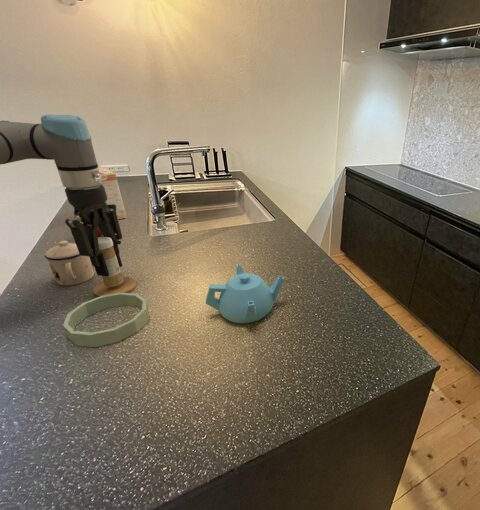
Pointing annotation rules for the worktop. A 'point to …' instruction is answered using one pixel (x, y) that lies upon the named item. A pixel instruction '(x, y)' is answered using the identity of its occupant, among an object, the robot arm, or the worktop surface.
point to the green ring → (109, 334)
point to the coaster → (115, 287)
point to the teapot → (244, 297)
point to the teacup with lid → (69, 264)
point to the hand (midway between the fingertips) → (110, 270)
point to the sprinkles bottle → (110, 262)
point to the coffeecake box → (112, 191)
